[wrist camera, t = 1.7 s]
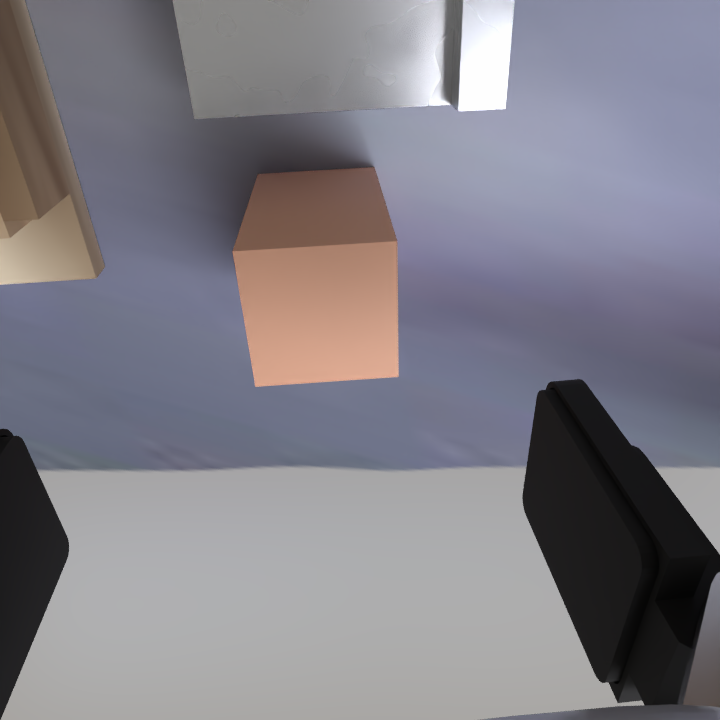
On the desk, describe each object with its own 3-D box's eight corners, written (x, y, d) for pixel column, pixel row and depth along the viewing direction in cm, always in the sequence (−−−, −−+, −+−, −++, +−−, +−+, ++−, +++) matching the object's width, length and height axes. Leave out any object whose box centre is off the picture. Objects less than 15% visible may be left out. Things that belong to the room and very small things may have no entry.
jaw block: (374, 166, 20) (396, 240, 14) (377, 274, 22) (398, 376, 16) (257, 173, 20) (232, 251, 14) (272, 280, 22) (255, 386, 16)
